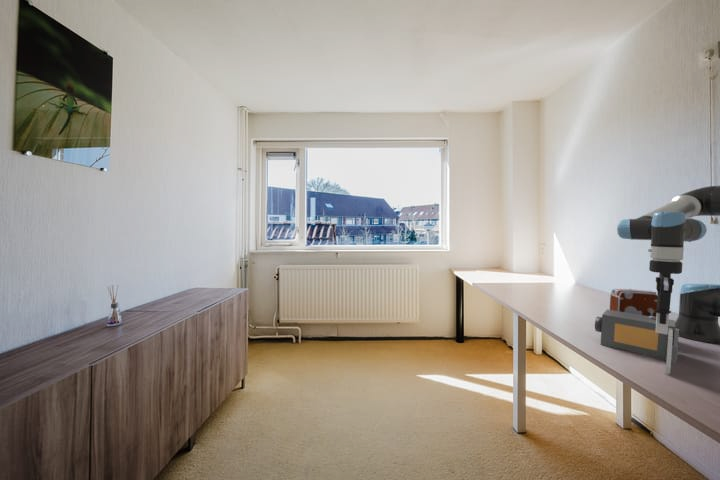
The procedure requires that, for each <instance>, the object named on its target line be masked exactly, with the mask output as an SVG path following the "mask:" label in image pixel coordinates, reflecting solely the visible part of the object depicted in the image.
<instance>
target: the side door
mask: <svg viewBox="0 0 720 480" xmlns="http://www.w3.org/2000/svg"><path fill="white" fill-rule="evenodd" d="M672 341H673V329H672V328H669V331H668V345H667V360H665V361H666V362H665V363H666V364H665V374H667V375H671V370H672V369H671V368H672V367H675V368H676V363H677V361H676V350H677V347H674V346H672Z"/></svg>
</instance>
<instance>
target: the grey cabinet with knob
mask: <svg viewBox="0 0 720 480" xmlns="http://www.w3.org/2000/svg"><path fill="white" fill-rule="evenodd" d="M675 322H676V320H674V319H668V331H669V328H672V329H673V341H672V346H674V347H677V350H676V362H677V361H678V350H679V348H678V347H679V337H680V336H679V329H675ZM594 330H595V332H597V333H601V335H600V345H601V346H605V347H608V348H612V349H613V348H614V349H616V350H617V349H618V350H622V351H625V350H626V352H630V351H631V353H634V352H636V353H635V354H639V353H640V355H643V354H645V355H644V356H647V355H649V356H648V357H652V356H654V357H653V358H656V357H657V358H656V359H660V358H661V360H665V361H666V360H667V345H668V335H667V334H661V333H656V317H654V316H645V315H639V314H632V313H626V312H620V311H614V310H610V309H606V310H605V311H604V312H603V313H602V316H596V318H595V320H594Z"/></svg>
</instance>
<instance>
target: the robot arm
mask: <svg viewBox="0 0 720 480" xmlns="http://www.w3.org/2000/svg"><path fill="white" fill-rule="evenodd" d="M705 216H707V217H708V216H710V217H711V216H713V217H716V216H717V217H718V216H719V217H720V185H709V186H704V187H701V188H696V189H693V190H690V191H687V192H684V193H682V194H680V195H677V196H675V197H673V198H672V199H671V201H669V203H667V204H665V205H663V206H660V207H658V208H656V209H654V210H652V211H649V212H648V213H645V214H643V215H641V216H640V217H637V218H627V219H622V220H620V221H619V222H618V224H617V227H616V230H617V231H616V232H617V235H618V236H619V238H621V239H624V240H630V241H631V240H632V241H633V240H637V241H638V240H640V241H642V240H643V241H650V248H648V249H647V252H649V253H650V255H649V258H650V260H649V267H648V268H649V269H648V270H649V271H650V272H653V273H659V275H658V276H657V277H655V282H656V286H655V288H656V295H657V306H656V307H657V311H656V310H655V313H657V316H656V333H661V334H667V335H668V319H669V317H670V314H672V311H671V309H670V308H671V298H672V293H673V286H674V285H675V279H673V278H672V274H673V275H679V274H682V272H683V262H682V261H683V260H684V250H685V249H684V248H685V247H684V242H688V243H691V242H695V241H699V240H701V239H703V238H704V237H705V235H706V234H707V229H708V228H707V226H706V224H705V223H704V222H703V221H701V220H700V219H696V218H695V219H694V217H705ZM678 305H679V306H678V317H677V318H676V320H675V329H679V337H681V338H685V339H688V340H693V341H697V342H703V343H704V342H705V343H710V344H712V343H713V344H720V324H719V318H720V284H715V283H684V284H682V285H681V287H680V291H679V304H678ZM669 320H670V319H669Z"/></svg>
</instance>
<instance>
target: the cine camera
mask: <svg viewBox="0 0 720 480" xmlns="http://www.w3.org/2000/svg"><path fill="white" fill-rule="evenodd" d="M656 306H657V291H652V290H645V289H632V288H629V289H628V288H613V289H611V291H610V297H609V310H614V311H620V312H626V313H632V314H639V315H645V316H654V317H656V316H657V313H655V310H656V311H657V307H656Z"/></svg>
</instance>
